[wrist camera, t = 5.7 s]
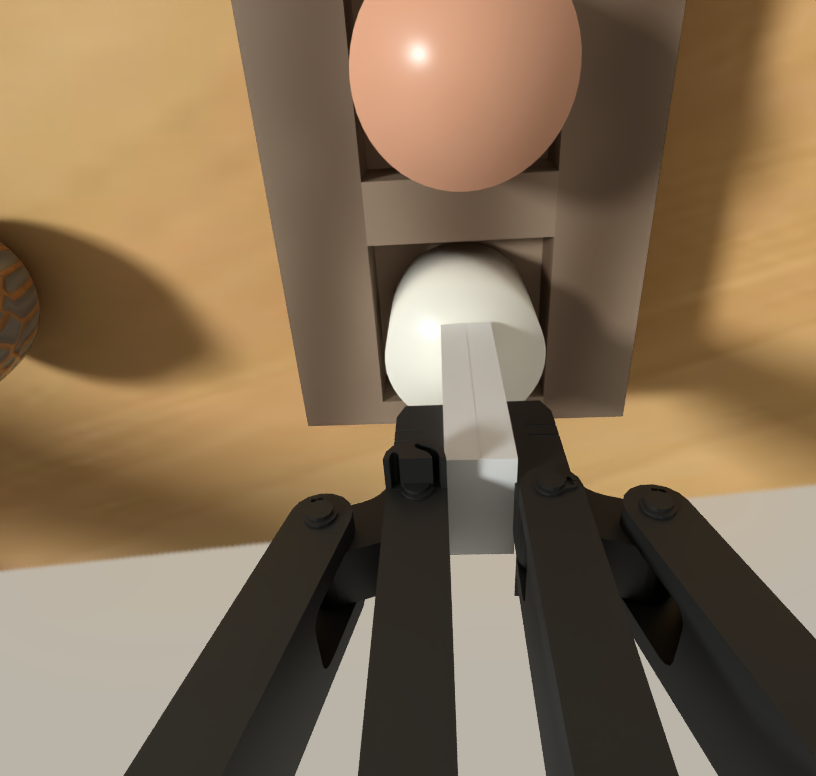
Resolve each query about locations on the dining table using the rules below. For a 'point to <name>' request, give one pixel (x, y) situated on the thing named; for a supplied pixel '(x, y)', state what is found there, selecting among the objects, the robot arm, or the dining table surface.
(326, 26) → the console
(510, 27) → the button terracotta
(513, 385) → the button cream
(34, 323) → the vase
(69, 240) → the dining table surface
